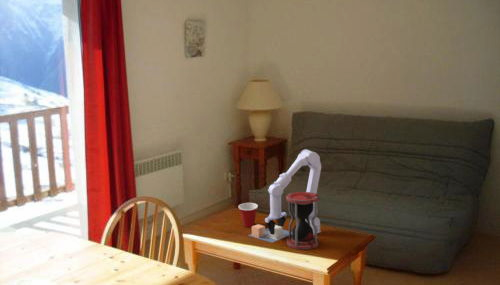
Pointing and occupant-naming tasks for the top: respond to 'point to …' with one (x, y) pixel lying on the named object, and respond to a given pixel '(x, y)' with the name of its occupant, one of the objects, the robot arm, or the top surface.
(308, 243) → the hourglass
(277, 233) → the offwhite block
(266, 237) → the mat
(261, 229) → the terracotta block
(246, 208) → the plastic cup
